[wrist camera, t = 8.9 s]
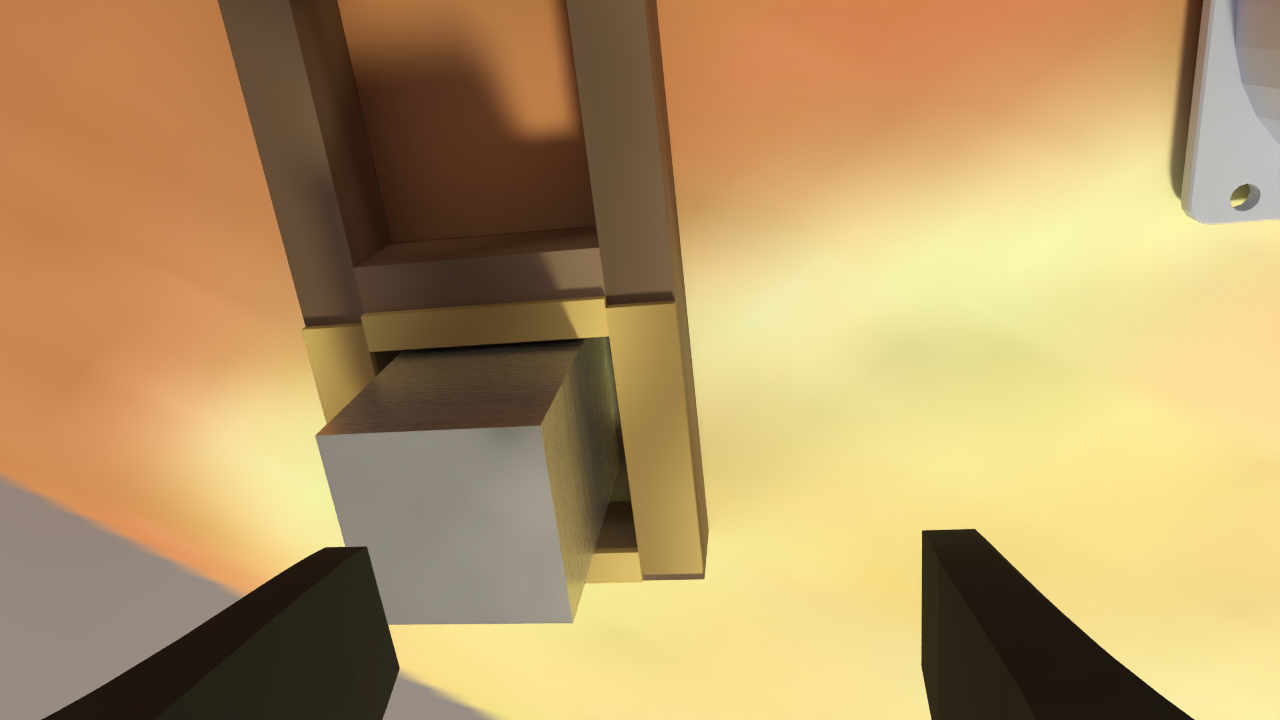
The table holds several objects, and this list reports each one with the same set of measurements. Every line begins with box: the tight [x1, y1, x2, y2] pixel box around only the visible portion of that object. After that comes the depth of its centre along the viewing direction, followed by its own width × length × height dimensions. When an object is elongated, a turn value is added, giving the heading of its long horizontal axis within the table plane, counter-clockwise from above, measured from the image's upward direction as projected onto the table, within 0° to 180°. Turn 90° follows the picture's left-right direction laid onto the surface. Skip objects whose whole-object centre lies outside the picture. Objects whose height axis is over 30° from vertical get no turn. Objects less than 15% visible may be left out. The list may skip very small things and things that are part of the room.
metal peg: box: [315, 337, 620, 625], centre depth 18 cm, size 4×4×6 cm
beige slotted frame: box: [218, 0, 709, 583], centre depth 17 cm, size 8×21×2 cm, turn 7°
